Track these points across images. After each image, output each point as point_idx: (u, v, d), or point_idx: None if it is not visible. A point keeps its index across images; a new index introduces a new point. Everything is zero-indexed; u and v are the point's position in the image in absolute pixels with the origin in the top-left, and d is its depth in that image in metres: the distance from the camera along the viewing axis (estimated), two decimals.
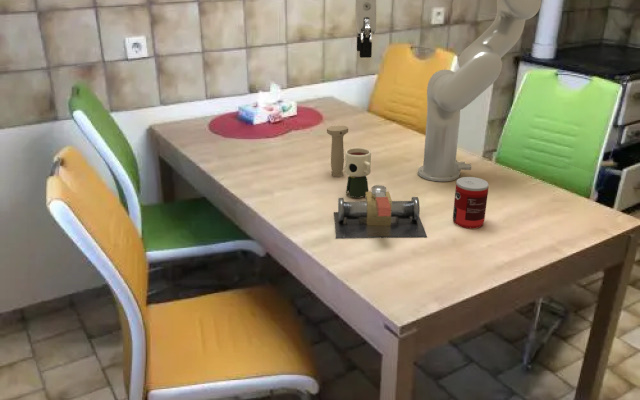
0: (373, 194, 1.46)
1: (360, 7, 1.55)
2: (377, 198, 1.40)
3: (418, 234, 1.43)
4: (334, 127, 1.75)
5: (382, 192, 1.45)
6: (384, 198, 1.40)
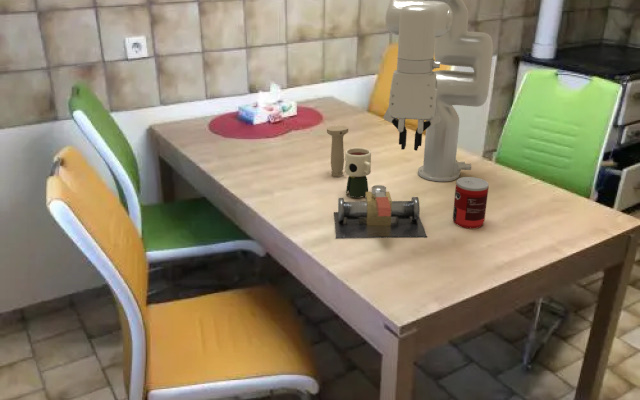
0: (373, 194, 1.46)
1: (434, 88, 1.24)
2: (377, 198, 1.40)
3: (418, 234, 1.43)
4: (334, 127, 1.75)
5: (382, 192, 1.45)
6: (384, 198, 1.40)
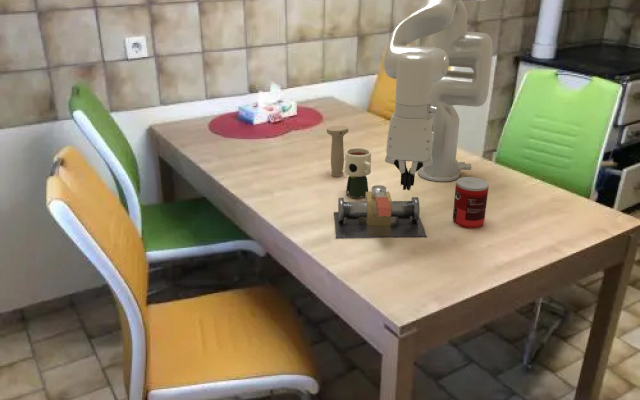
0: (373, 194, 1.46)
1: (431, 132, 1.28)
2: (377, 198, 1.40)
3: (418, 234, 1.43)
4: (334, 127, 1.75)
5: (382, 192, 1.45)
6: (384, 198, 1.40)
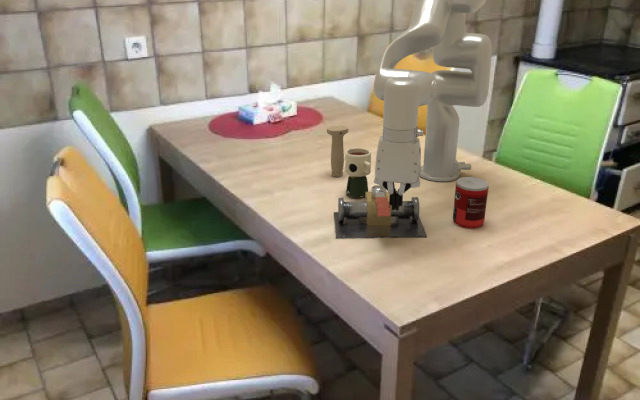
0: (373, 194, 1.46)
1: (418, 155, 1.31)
2: (377, 198, 1.40)
3: (418, 234, 1.43)
4: (334, 127, 1.74)
5: (382, 192, 1.45)
6: (384, 198, 1.40)
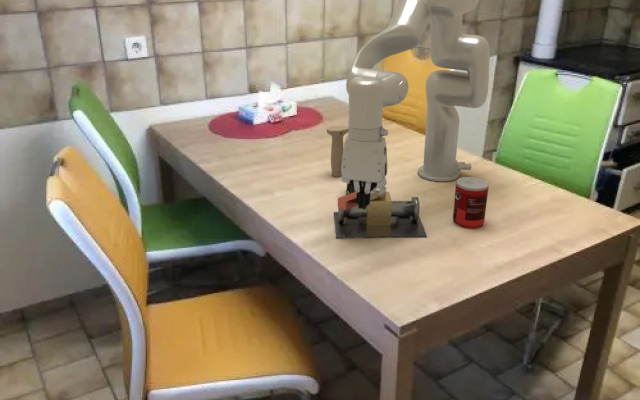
0: None
1: (382, 154, 1.32)
2: (354, 192, 1.43)
3: (418, 234, 1.43)
4: (334, 127, 1.74)
5: (373, 191, 1.45)
6: None
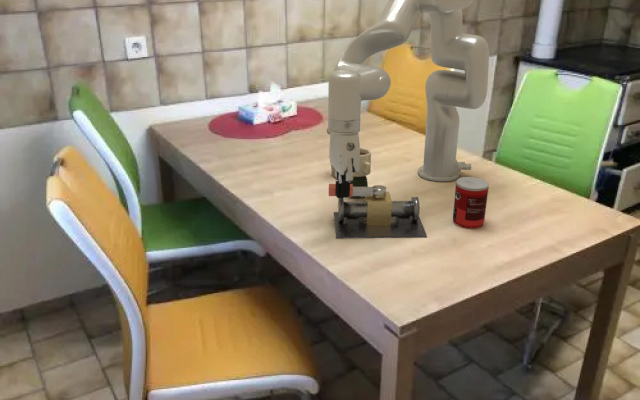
0: None
1: (343, 148, 1.35)
2: None
3: (418, 234, 1.43)
4: None
5: (369, 189, 1.47)
6: None
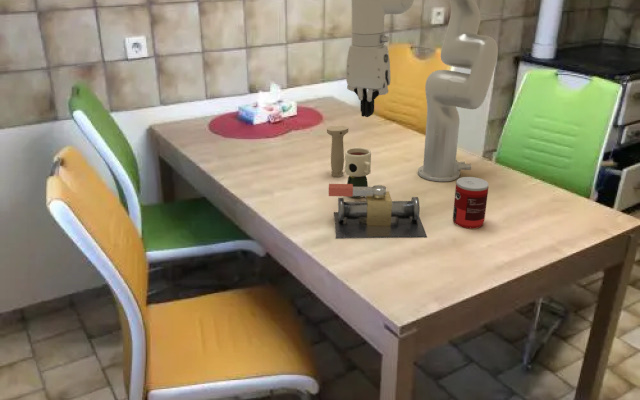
0: None
1: (381, 60, 1.36)
2: (349, 184, 1.48)
3: (418, 234, 1.43)
4: (334, 127, 1.74)
5: (369, 189, 1.47)
6: (349, 186, 1.47)
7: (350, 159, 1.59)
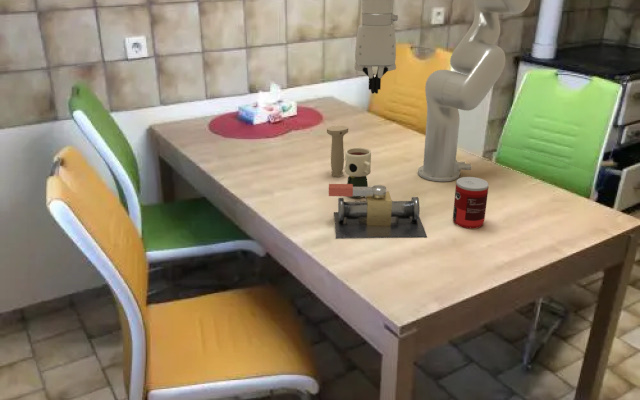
0: None
1: (394, 38, 1.48)
2: (349, 184, 1.48)
3: (418, 234, 1.43)
4: (334, 127, 1.75)
5: (369, 189, 1.47)
6: (349, 186, 1.47)
7: (350, 159, 1.59)
